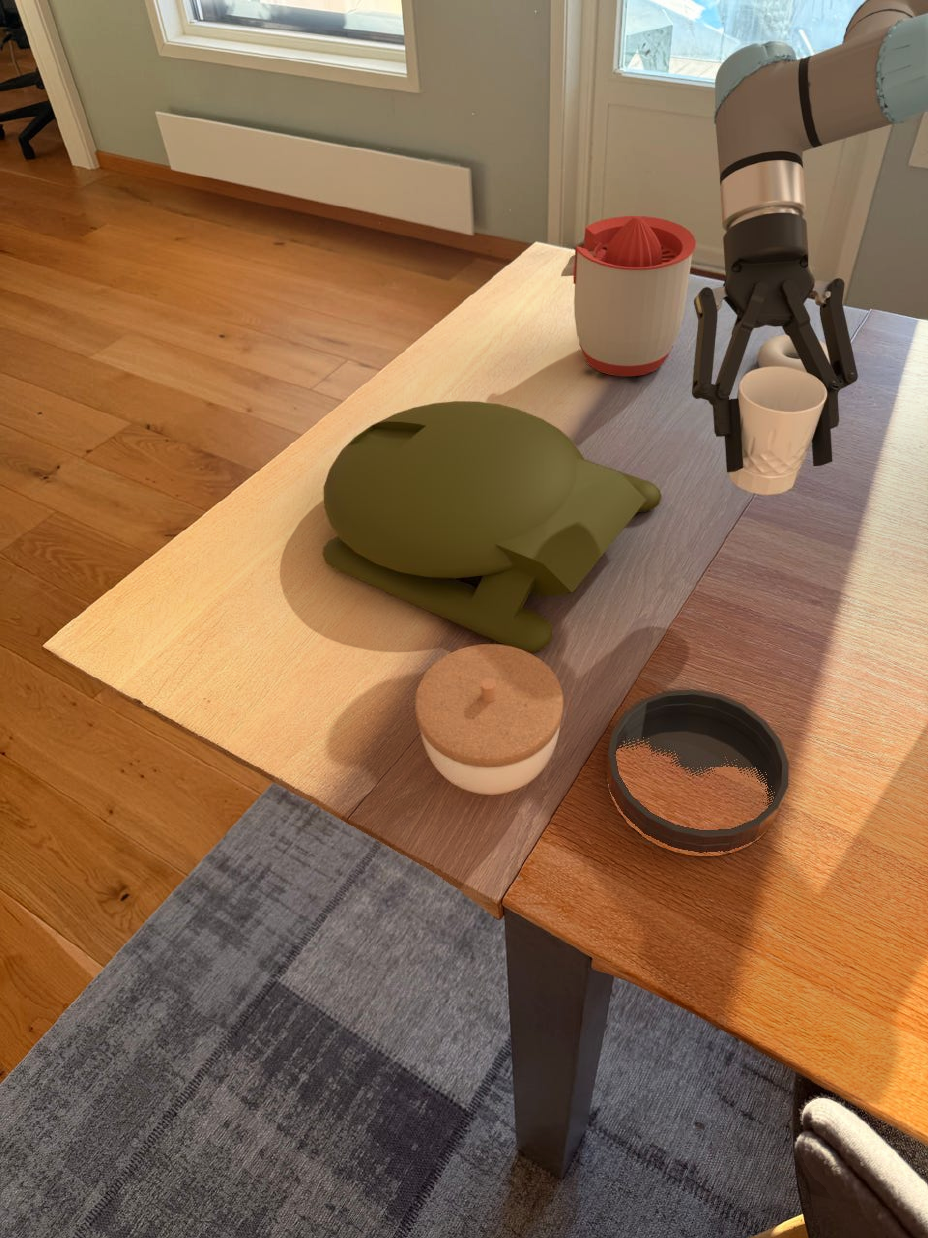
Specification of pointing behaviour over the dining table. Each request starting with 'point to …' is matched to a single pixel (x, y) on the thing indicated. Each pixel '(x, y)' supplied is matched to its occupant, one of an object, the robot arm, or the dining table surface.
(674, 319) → the citrus juicer
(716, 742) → the dark grey round dish
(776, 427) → the white cup
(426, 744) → the lidded bowl
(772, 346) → the donut
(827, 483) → the dining table surface
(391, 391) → the dining table surface
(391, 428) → the spaceship
